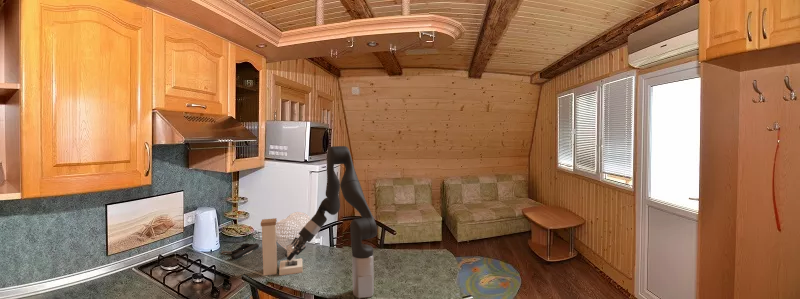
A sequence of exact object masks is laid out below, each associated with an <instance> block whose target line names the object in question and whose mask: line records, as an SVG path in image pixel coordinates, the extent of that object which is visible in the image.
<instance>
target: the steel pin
mask: <svg viewBox="0 0 800 299" xmlns="http://www.w3.org/2000/svg"><path fill="white" fill-rule="evenodd" d="M286 245H287V248H286V249H287V250H286V253H287V257H288V256H289V255H290V253H291V252H292V251H293V250H294V246H295V245H294V244H289V245H288V244H286ZM287 257H286V260H287V267H288V266H296V265H295V259H296V255H295V256H294V257H293V258H292V259H291V260H290V261H289V260H288V259H287Z"/></svg>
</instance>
